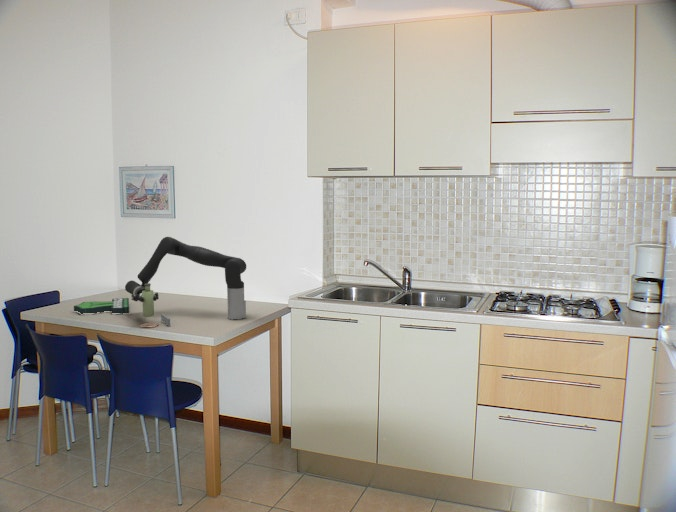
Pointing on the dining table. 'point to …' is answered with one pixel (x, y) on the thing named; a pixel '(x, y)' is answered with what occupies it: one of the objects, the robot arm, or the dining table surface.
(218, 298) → the dining table surface
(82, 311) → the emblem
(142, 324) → the coaster
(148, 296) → the bottle
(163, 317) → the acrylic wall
